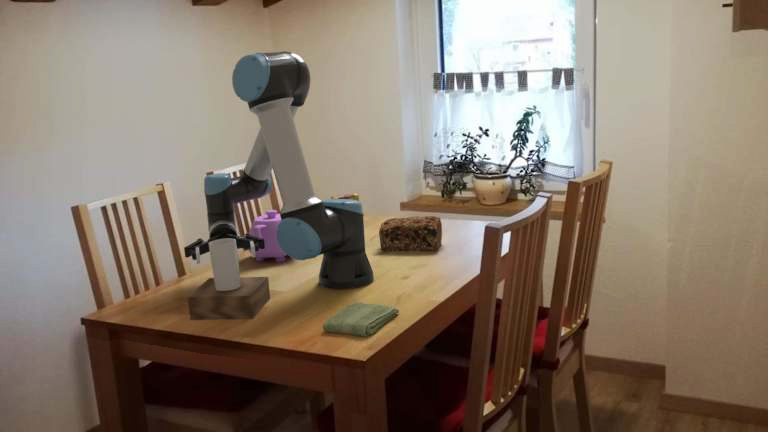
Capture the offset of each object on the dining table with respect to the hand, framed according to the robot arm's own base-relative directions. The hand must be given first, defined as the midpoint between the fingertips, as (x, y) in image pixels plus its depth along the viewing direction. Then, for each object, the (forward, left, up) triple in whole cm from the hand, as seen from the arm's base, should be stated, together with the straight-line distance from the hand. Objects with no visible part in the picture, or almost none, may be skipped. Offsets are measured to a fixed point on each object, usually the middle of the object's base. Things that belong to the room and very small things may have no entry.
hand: (225, 255), depth 199 cm
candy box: (-17, -73, -15) cm, 77 cm away
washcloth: (-34, +8, -16) cm, 38 cm away
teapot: (+1, -51, -15) cm, 53 cm away
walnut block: (+1, -3, -15) cm, 15 cm away
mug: (+1, -3, -9) cm, 10 cm away
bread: (-40, -60, -15) cm, 74 cm away
